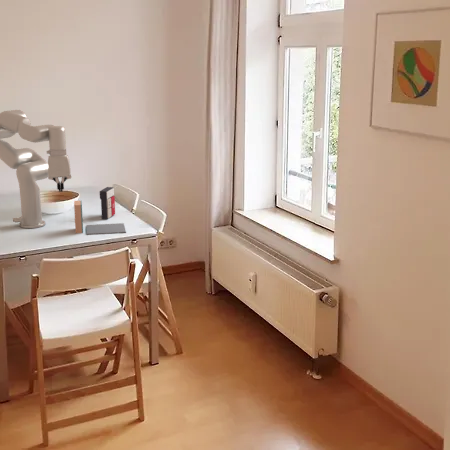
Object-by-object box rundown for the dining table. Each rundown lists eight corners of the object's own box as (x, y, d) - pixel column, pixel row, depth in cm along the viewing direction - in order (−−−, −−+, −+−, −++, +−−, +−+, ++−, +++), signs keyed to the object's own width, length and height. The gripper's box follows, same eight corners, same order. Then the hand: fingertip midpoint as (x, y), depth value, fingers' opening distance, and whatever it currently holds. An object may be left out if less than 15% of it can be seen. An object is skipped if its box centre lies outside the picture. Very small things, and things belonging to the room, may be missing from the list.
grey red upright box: (108, 219, 337) (107, 191, 333) (100, 219, 338) (99, 191, 334) (116, 214, 347) (115, 187, 343) (108, 214, 348) (107, 186, 344)
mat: (86, 234, 310) (86, 233, 310) (86, 225, 325) (86, 224, 325) (125, 232, 314) (125, 231, 314) (123, 224, 329) (123, 223, 329)
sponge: (75, 233, 312) (74, 205, 308) (75, 228, 320) (74, 200, 317) (83, 233, 313) (81, 204, 309) (83, 228, 321) (81, 200, 317)
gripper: (41, 154, 299) (44, 193, 304) (74, 153, 303) (76, 191, 307) (42, 152, 307) (45, 190, 311) (74, 151, 310) (76, 188, 314)
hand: (60, 190), depth 309 cm, fingers closed
